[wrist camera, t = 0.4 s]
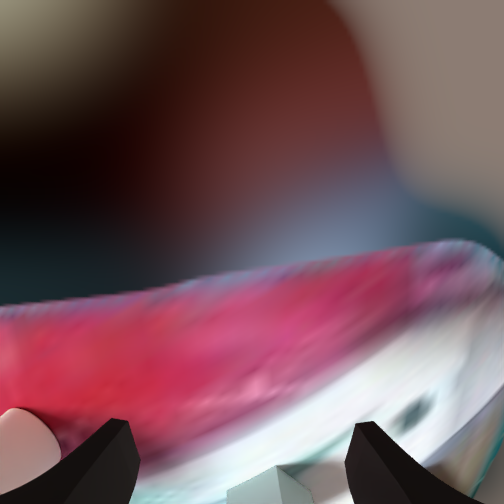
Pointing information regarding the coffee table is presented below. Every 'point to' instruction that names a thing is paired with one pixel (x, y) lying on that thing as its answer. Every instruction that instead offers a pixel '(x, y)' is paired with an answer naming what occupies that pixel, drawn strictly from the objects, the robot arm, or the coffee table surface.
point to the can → (25, 448)
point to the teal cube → (270, 490)
